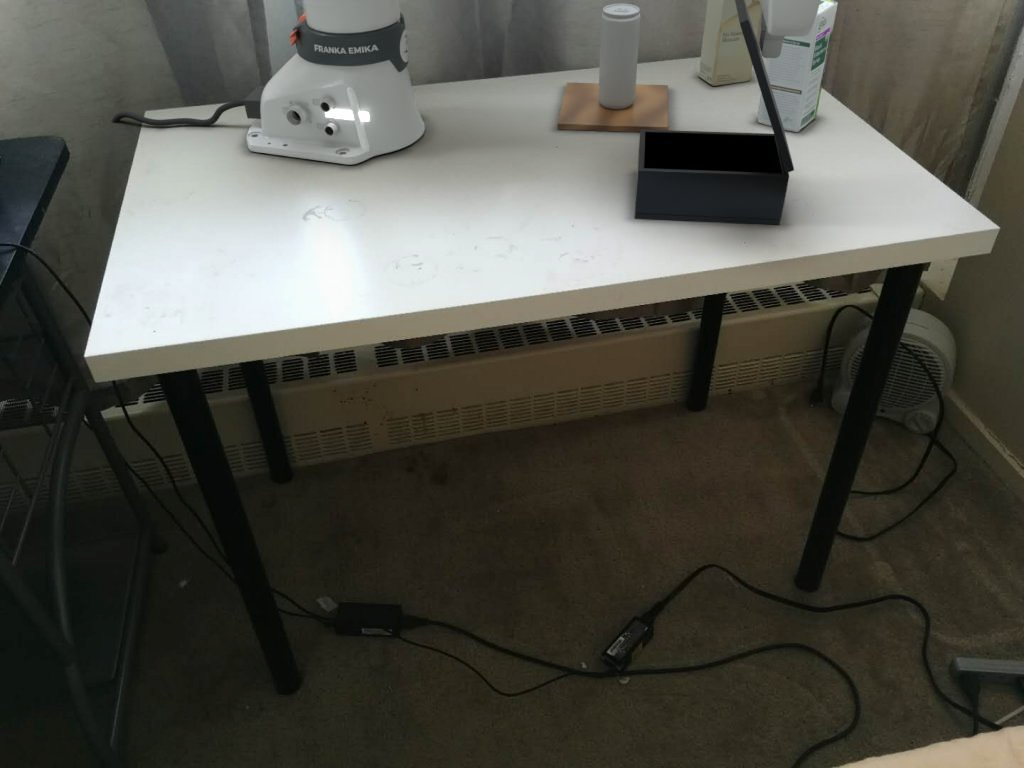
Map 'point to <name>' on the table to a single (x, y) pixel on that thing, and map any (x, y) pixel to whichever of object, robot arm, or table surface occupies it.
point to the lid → (764, 83)
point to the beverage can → (618, 55)
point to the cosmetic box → (726, 43)
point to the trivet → (613, 110)
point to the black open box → (710, 177)
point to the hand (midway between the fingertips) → (769, 53)
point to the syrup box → (800, 72)
